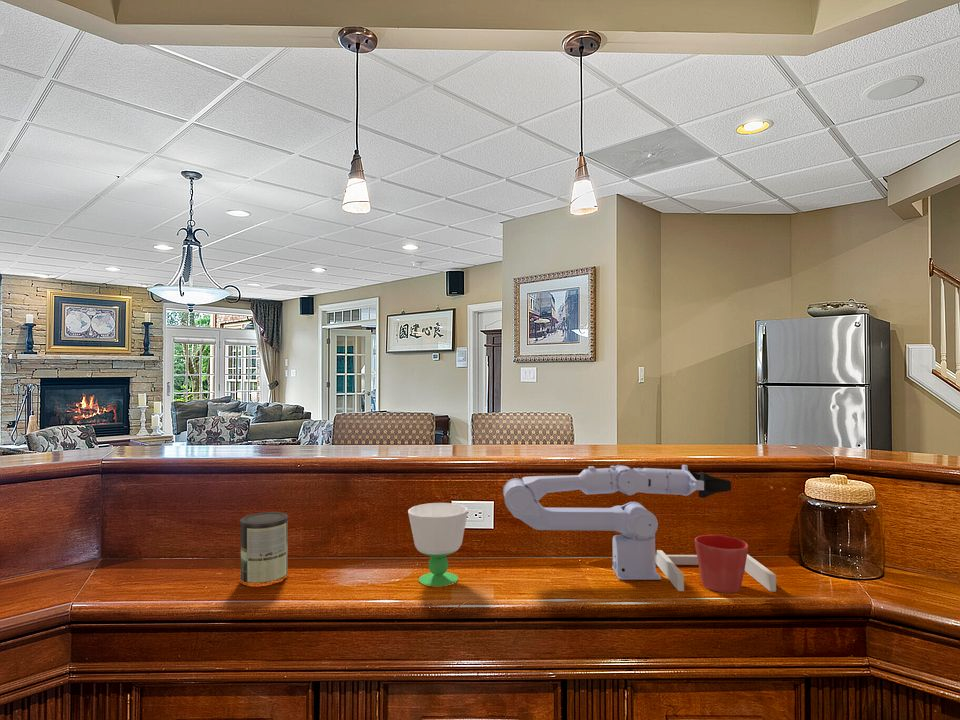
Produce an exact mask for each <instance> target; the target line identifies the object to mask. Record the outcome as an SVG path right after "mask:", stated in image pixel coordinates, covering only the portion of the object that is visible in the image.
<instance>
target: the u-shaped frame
mask: <svg viewBox="0 0 960 720" xmlns="http://www.w3.org/2000/svg"><path fill="white" fill-rule="evenodd" d="M655 565H656V566H657V567H658V568H659V569H660V570H661V571H662V573H663V574H664V576H665V577H666V578H667V579H668V581H670V582H671V584H672V585H673V586H674V587H675V589H676V590H677V591H678V592H685V576H684V575H685V574H684V573H683V572H682V571H681V569H679V568H678V566H682V565H683V566H684V565H685V566H699V564H698V558H697V554H666V553H665V552H664V551H663V550H661V549H656V554H655ZM744 572H746V573H747V574H748V575H750V576H751V577H752V578H753V579H754V580H756V581H757V582H758V583H759V584H760V585H762V586H763V587H764V588H765V589H767V590H768V591H769V592H770V593H771V592H773V593H774V592H776V593H777V574H776V573H774V572H773V571H771V570H770V569H769V568H767V567H766V566H764V565H763V564H762V563H760V562H759V561H758V560H756V559H755V558H753V556H751V555H750V554H748V553H747V558H746V564H745V570H744Z"/></svg>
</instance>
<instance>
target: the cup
mask: <svg viewBox="0 0 960 720" xmlns="http://www.w3.org/2000/svg"><path fill="white" fill-rule="evenodd" d="M468 512H469V510H468V507H467V506H464V505H463V504H459V503H452V502H451V503H450V502H430V503H424V504H418V505H414V506H412V507H410V508H409V509H408V510H407V513H408V518H409V519H408V520H409V524H410V528H411V529H410V530H411V533H412V537H413V544H414V547H415V548H416V549H417V551H418V552H420V553H421V554H423V555H424V556H428V557H430V558H429V560H428V570H429V571H430V572H428V573H425V574H422V575H421V576H420V577H419V578H418V583H419V582H420V583H419V584H421V583H422V584H424V585H427V586H426V587H428V586H429V585H430V586H445V585H449V584H452V583H455V582H456V581H457V580H458V581H459V576H458V575H457V574H455V573H452V572H447V570H448V569H449V561H448V559H447V556H449V555H452V554H454V553H456V552H457V551H458V550H459V549H460V548H461V546H462V545H463V539H464V534H465V529H466V524H467V518H468ZM458 581H457V582H458ZM457 582H456V583H457ZM456 583H455V584H456ZM422 584H421V585H422ZM424 585H423V586H424ZM452 585H453V584H452ZM445 587H446V586H445Z"/></svg>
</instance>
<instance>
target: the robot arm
mask: <svg viewBox="0 0 960 720" xmlns="http://www.w3.org/2000/svg"><path fill="white" fill-rule="evenodd" d="M688 467H689V466H688V465H687V464H682V465H681V469H676V468H675V469H674V468H673V469H672V468H652V467H651V468H650V467H643V468H641V467H637V468H636V467H633V468H631V467H629V466H627V465H621V464H617V465H610V466H609V467H605V468H596V467H595V466H593V465H592V466H590V465H589V466H588V468H586V469H583V470H582V471H581V472H580V473H579V474H578V475H577V474H575V475H572V474H571V475H535V476H532V475H531V476H523V477H522V478H517V477H516V478H511V479H508V481H506V482H505V484H504V486H503V488H502V495H503V497H504V505H505V506H506V508H507V510H508V511H509V512H510V513H511V515H512V516H513V517H514V518H516V519H518V520H520V521H522V522H523V523H524V524H526V525H528V526H529V527H531V528H532V529H534V530H538V531H604V532H605V531H613V532H617V533H620V534H616V535H613V537H612V543H611V544H612V566H611V569H613V572H614V574H615V575H616V577H617V579H618V580H621V581H622V580H625V581H626V580H627V581H629V580H631V581H633V580H637V581H638V580H640V581H641V580H642V581H647V580H649V581H653V580H654V581H655V580H659V581H660V580H662V577H661V575H660V574H659V573H658V571H657V570H656V566H657V565H656V533H657V531H658V527H659V524H658V523H659V522H658V519H657V517H656V516H655V514H654V513H652V511H649V510H648V509H646V508H645V506H644V505H642V503H640V502H637V501H629V502H627V503H625V504H623V505H614V506H612V507H545V506H543V505H542V504H541V503H540V502H539V501H540V500H541V499H542V498H543V497H544V496H545V495H546V494H549V493H556V492H557V493H559V492H560V493H561V492H568V491H577V490H580V491H581V492H582V493H584V494H585V495H600V494H601V495H603V494H604V495H605V494H614V493H616V492H620V493H622V494H623V495H627V496H632V495H635V494H636V493H644V494H654V495H655V494H656V495H675V496H676V495H677V496H678V495H680V496H683V497H684V496H685V497H687V496H690V495H692V493H694V492H696V491H698V498H701V499H704V498H708V497H709V496H712V495H715V494H720V493H724V492H725V493H726V492H730V491H732V481H731V480H728V479H726V478H725V479H724V478H719V477H715V476H711V475H710V474H707V473H706V472H703V471H699V473H696V472H694V471H691V470H690V469H688Z"/></svg>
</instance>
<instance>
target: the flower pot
mask: <svg viewBox="0 0 960 720" xmlns="http://www.w3.org/2000/svg"><path fill="white" fill-rule="evenodd" d="M694 545H695V551H696V555H697V558H698V564H699V565H698V570H699V573H700V574H699V576H700V579H701V583H702V585H703V586H704V588H707V589H708V590H711V591H714V592H719V593H737V592H739V591H740V590H741V589H742V584H743V579H744V575H745V564H746V558H747V554H748V552H749V544H748V543H747V542H745V541H744V540H742V539H739V538H736V537H733V536H728V535H727V536H726V535H720V534H719V535H718V534H705V535H704V534H703V535H698V536H696V537H695V538H694Z"/></svg>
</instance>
